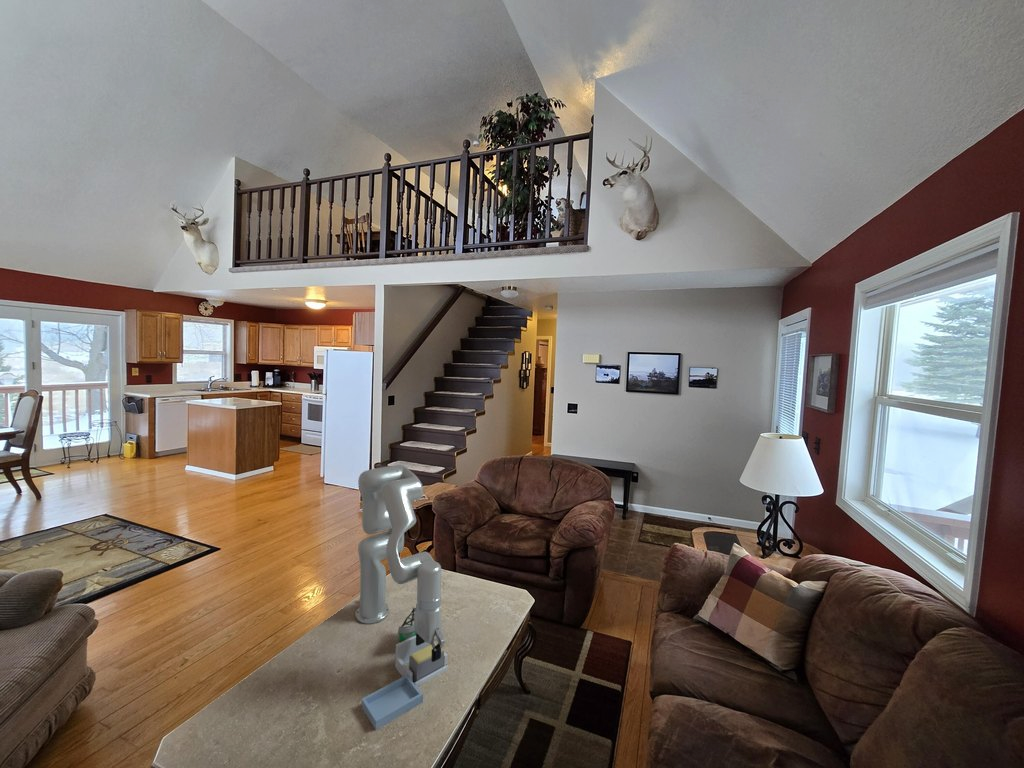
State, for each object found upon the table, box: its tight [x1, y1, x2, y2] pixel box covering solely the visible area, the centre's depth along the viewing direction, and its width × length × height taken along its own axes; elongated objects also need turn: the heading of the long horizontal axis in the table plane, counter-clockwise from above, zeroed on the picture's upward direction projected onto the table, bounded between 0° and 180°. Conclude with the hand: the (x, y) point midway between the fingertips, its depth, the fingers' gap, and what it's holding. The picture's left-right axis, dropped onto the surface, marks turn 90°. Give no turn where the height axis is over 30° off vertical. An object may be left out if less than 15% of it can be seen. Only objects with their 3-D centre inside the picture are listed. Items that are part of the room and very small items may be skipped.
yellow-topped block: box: [408, 642, 445, 683], centre depth 142 cm, size 5×10×7 cm, turn 132°
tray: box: [361, 675, 424, 731], centre depth 129 cm, size 10×15×3 cm, turn 132°
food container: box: [397, 606, 417, 643], centre depth 154 cm, size 12×6×10 cm, turn 168°
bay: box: [394, 636, 449, 688], centre depth 144 cm, size 12×14×8 cm
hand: (428, 651), depth 141 cm, fingers open, 9 cm apart
